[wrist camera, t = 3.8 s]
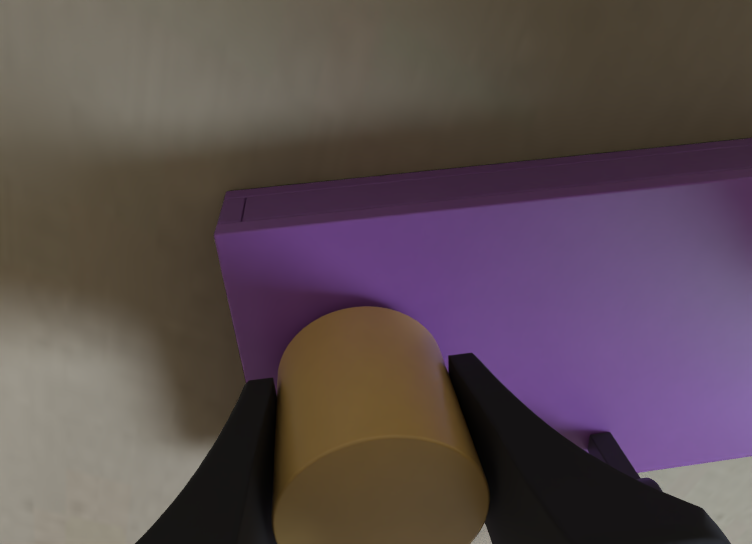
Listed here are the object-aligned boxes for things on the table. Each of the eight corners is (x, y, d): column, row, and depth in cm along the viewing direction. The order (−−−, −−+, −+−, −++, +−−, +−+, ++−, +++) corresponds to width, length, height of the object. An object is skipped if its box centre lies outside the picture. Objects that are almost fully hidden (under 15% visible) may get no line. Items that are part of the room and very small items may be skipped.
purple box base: (734, 385, 22) (775, 426, 20) (276, 447, 21) (274, 498, 19) (811, 131, 17) (875, 153, 15) (225, 190, 16) (215, 223, 14)
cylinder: (475, 361, 16) (534, 496, 12) (369, 458, 17) (390, 610, 13) (351, 274, 14) (373, 399, 10) (243, 390, 15) (225, 541, 11)
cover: (771, 439, 20) (863, 534, 17) (277, 510, 19) (274, 627, 16) (877, 154, 15) (1036, 210, 12) (215, 223, 14) (191, 308, 11)
